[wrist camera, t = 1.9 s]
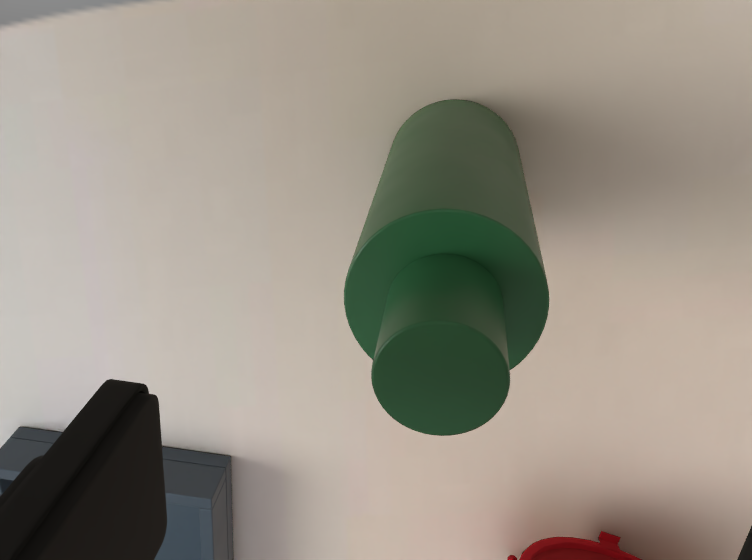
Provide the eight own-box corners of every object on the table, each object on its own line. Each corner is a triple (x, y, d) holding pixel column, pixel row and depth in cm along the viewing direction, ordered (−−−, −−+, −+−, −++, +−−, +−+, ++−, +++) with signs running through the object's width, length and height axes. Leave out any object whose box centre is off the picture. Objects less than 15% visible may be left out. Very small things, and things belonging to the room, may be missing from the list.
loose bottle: (395, 92, 24) (323, 256, 12) (529, 106, 24) (590, 288, 12) (384, 216, 26) (314, 459, 15) (508, 231, 26) (541, 491, 14)
